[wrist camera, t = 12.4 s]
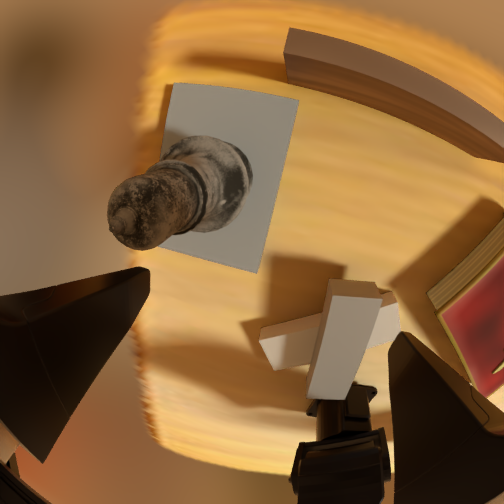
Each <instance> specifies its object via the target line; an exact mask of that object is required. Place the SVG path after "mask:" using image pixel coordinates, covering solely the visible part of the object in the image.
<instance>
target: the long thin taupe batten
mask: <svg viewBox="0 0 504 504" xmlns="http://www.w3.org/2000/svg"><path fill="white" fill-rule="evenodd" d="M283 53H284V59H285V65H286V72H287V78H288V84H292V85H296V86H301V87H305V88H309V89H313V90H317V91H321V92H324V93H328V94H331V95H335V96H338V97H341V98H345V99H348V100H351V101H354V102H357V103H360V104H363V105H366V106H369V107H371V108H374V109H377V110H379V111H382V112H385V113H387V114H390V115H392V116H395V117H397V118H399V119H402V120H404V121H406V122H409V123H411V124H413V125H415V126H417V127H420V128H422V129H424V130H426V131H428V132H430V133H432V134H434V135H436V136H438V137H440V138H442V139H444V140H446V141H448V142H449V143H451V144H453V145H455V146H457V147H458V148H460V149H462V150H464V151H465V152H467V153H469V154H470V155H472V156H474V157H476V158H482V159H487V160H492V161H496V162H501V163H504V122H503V121H501V120H500V119H499V118H497V117H496V116H495V115H493V114H492V113H491V112H489V111H488V110H487V109H485V108H484V107H482V106H481V105H479V104H478V103H476V102H475V101H474V100H472V99H470V98H469V97H467V96H466V95H464V94H463V93H461V92H459V91H458V90H456V89H454V88H453V87H451V86H449V85H448V84H446V83H444V82H442V81H440V80H439V79H437V78H435V77H433V76H431V75H429V74H427V73H425V72H423V71H421V70H419V69H417V68H415V67H413V66H411V65H409V64H406V63H404V62H402V61H400V60H397V59H395V58H392V57H390V56H387V55H385V54H382V53H380V52H377V51H374V50H372V49H369V48H366V47H363V46H360V45H357V44H354V43H351V42H348V41H344V40H341V39H337V38H334V37H330V36H326V35H322V34H318V33H314V32H309V31H305V30H300V29H295V28H289V32H288V36H287V40H286V44H285V48H284V52H283Z"/></svg>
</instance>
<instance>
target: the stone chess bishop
mask: <svg viewBox="0 0 504 504" xmlns="http://www.w3.org/2000/svg"><path fill="white" fill-rule="evenodd" d="M252 184H253V172H252V168H251V164H250V162H249V160H248V158H247V156H246V155H245V154H244V153H243V152H242V151H241V150H240V149H239V148H238V147H236V146H234V145H233V144H231V143H228V142H224V141H222V140H220V139H217V138H214V137H210V136H191V137H188V138H184V139H181V140H180V141H178V142H177V143H175V144H174V145H172V146H171V147H170V148H169V149H168V150H167V151H166V152H165V153H164V155H163V156H162V158H161V160H160V162H158V163H156V164H154V165H153V166H152V167H150V168H149V169H148V170H147V172H146V173H145V174H142V175H138V176H135V177H132V178H129V179H126V180H125V181H124V182H123V183H121V184H120V185H119V186H117V187H116V188H115V190H114V191H113V193H112V194H111V197H110V199H109V202H108V211H107V217H108V223H109V230H110V231H111V232H112V233H113V235H114V236H115V237H116V238H117V239H118V241H120V242H121V243H122V244H124V245H125V246H127V247H129V248H132V249H134V250H141V251H143V250H148V249H152V248H155V247H157V246H159V245H160V244H162V243H163V242H164V241H166V240H167V239H168V238H169V237H171V236H172V235H181V234H185V233H187V232H189V231H193V232H202V233H206V232H212V231H217V230H219V229H221V228H223V227H226V226H228V225H229V224H230V223H231V222H232V221H233V220H234V219H236V218H237V216H238V215H239V213H240V212H241V210H242V209H243V207H244V205H245V202H246V199H247V197H248V195H249V193H250V190H251V187H252Z"/></svg>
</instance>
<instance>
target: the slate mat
mask: <svg viewBox="0 0 504 504" xmlns="http://www.w3.org/2000/svg"><path fill="white" fill-rule="evenodd" d="M298 104H299V100H295V99H291V98H286V97H281V96H277V95H272V94H266V93H261V92H255V91H249V90H243V89H236V88H229V87H221V86H212V85H201V84H188V83H174V85H173V90H172V94H171V99H170V104H169V109H168V114H167V119H166V124H165V130H164V135H163V141H162V148H161V154H160V160H161V158H162V156H163V155H164V153H165V152H166V151H167V150H168V149H169V148H170V147H171V146H172V145H174V144H175V143H177V142H178V141H180V140H181V139H184V138H188V137H191V136H210V137H214V138H217V139H220V140H222V141H224V142H228V143H231V144H233V145H234V146H236V147H238V148H239V149H240V150H241V151H242V152H243V153H244V154H245V155H246V156H247V158H248V160H249V162H250V164H251V168H252V172H253V184H252V187H251V190H250V193H249V195H248V197H247V199H246V202H245V205H244V207H243V209H242V210H241V212H240V213H239V215H238V216H237V218H236V219H234V220H233V221H232V222H231V223H230V224H229V225H228V226H226V227H223V228H221V229H219V230H217V231H212V232H206V233H202V232H193V231H189V232H187V233H185V234H181V235H172V236H171V237H169V238H168V239H167V240H166V241H164V242H163V243H162V244H160V245H159V246H158V247H162V248H165V249H169V250H172V251H176V252H179V253H183V254H186V255H190V256H194V257H197V258H201V259H204V260H208V261H212V262H215V263H219V264H223V265H226V266H230V267H234V268H238V269H241V270H245V271H249V272H253V273H256V274H257V272H258V269H259V265H260V261H261V257H262V253H263V249H264V245H265V241H266V237H267V233H268V229H269V225H270V221H271V217H272V213H273V209H274V205H275V201H276V196H277V192H278V188H279V184H280V180H281V176H282V172H283V167H284V163H285V159H286V155H287V151H288V147H289V142H290V138H291V134H292V130H293V125H294V121H295V117H296V113H297V108H298ZM159 162H160V161H159Z"/></svg>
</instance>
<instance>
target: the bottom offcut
mask: <svg viewBox="0 0 504 504" xmlns="http://www.w3.org/2000/svg"><path fill="white" fill-rule="evenodd" d="M381 296H382V298H383V300H382V303H381V307H380V310H379V313H378V316H377V319H376V322H375V325H374V328H373V331H372V334H371V337H370V339H369V342H368V345H367V347H366V349H368V348H372V347H375V346H378V345H381V344H384V343H387V342H391V341H394V340H395V338H396V336H397V335H398V333H399V332H401V328H400V318H399V309H398V302H397V300H396V298H395V296H394V294H393V293H392V291H390V292H387V293H384V294H381ZM321 316H322V313H318V314H314V315H311V316H307V317H303V318H299V319H295V320H291V321H287V322H283V323H279V324H275V325H271V326H266V327H262V328H261V332H260V337H259V342H260V344H261V346H262V348H263V350H264V352H265V354H266V356H267V358H268V360H269V362H270V364H271V366H272V368H273V370H274V371H276V370H282V369H287V368H292V367H297V366H302V365H306V364H310V363H311V359H312V355H313V351H314V347H315V343H316V339H317V334H318V330H319V326H320V321H321Z"/></svg>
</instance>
